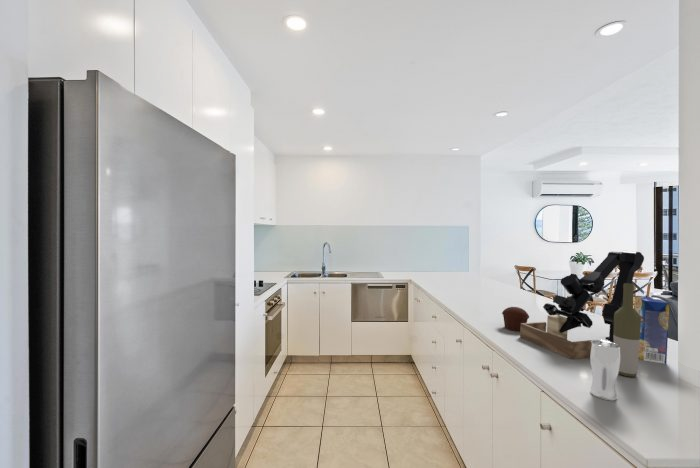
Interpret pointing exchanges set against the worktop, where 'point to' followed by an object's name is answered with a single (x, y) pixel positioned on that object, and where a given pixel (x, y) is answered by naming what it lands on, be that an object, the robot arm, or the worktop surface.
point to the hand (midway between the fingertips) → (554, 330)
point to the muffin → (514, 318)
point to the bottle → (627, 333)
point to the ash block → (556, 325)
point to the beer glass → (604, 368)
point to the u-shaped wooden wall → (554, 341)
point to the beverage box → (653, 328)
